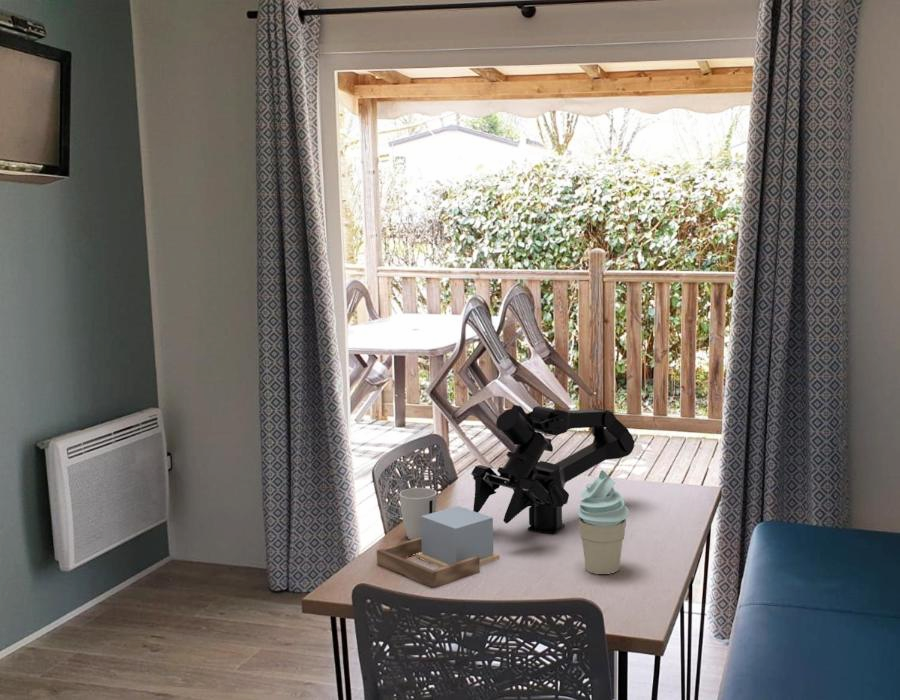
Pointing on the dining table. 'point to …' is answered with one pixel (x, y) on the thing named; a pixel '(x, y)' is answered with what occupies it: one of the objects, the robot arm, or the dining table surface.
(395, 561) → the bay
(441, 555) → the tea caddy
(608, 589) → the dining table surface
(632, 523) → the dining table surface
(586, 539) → the ice cream cone
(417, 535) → the cup
